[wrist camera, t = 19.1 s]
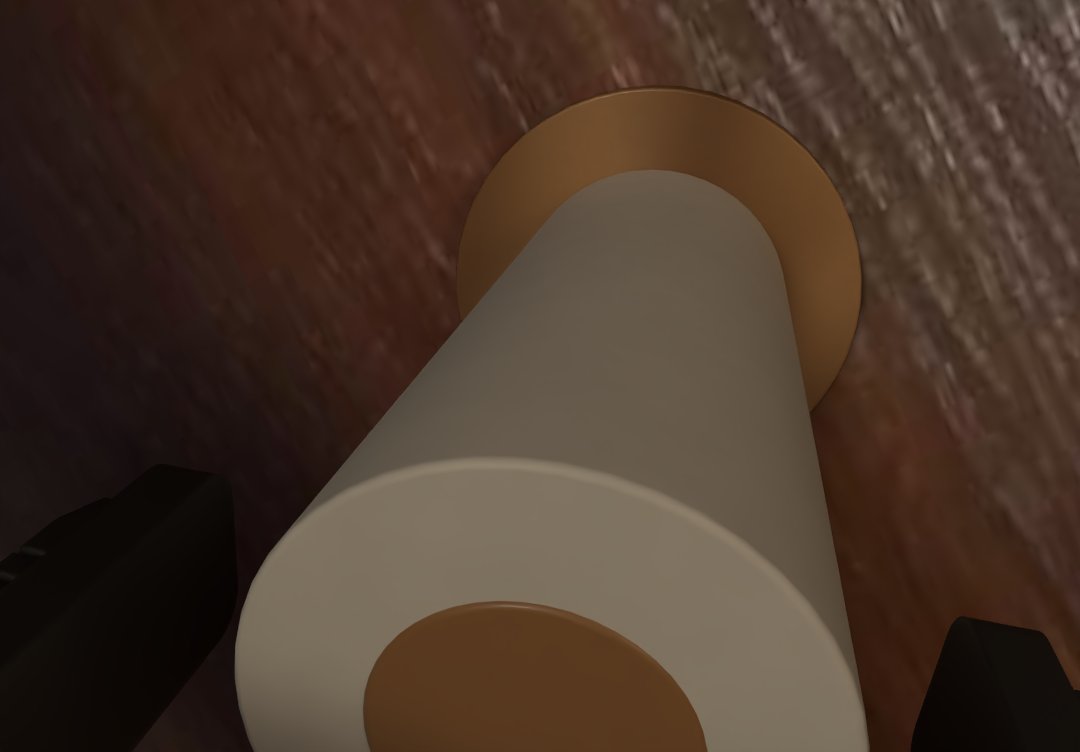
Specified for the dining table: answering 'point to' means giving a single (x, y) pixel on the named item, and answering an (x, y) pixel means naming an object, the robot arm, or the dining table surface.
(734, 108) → the coaster
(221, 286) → the dining table surface
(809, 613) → the paper towel roll
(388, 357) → the dining table surface
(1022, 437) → the dining table surface
